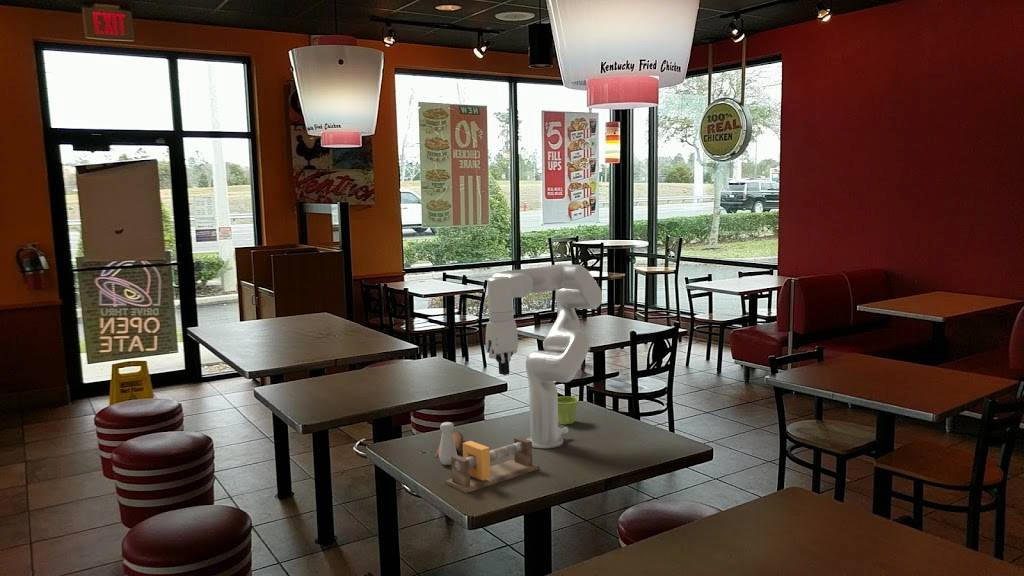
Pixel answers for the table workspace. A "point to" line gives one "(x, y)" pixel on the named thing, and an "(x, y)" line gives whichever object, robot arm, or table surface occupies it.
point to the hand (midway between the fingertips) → (504, 374)
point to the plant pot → (566, 409)
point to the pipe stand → (497, 472)
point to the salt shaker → (447, 443)
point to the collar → (478, 459)
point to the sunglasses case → (457, 440)
